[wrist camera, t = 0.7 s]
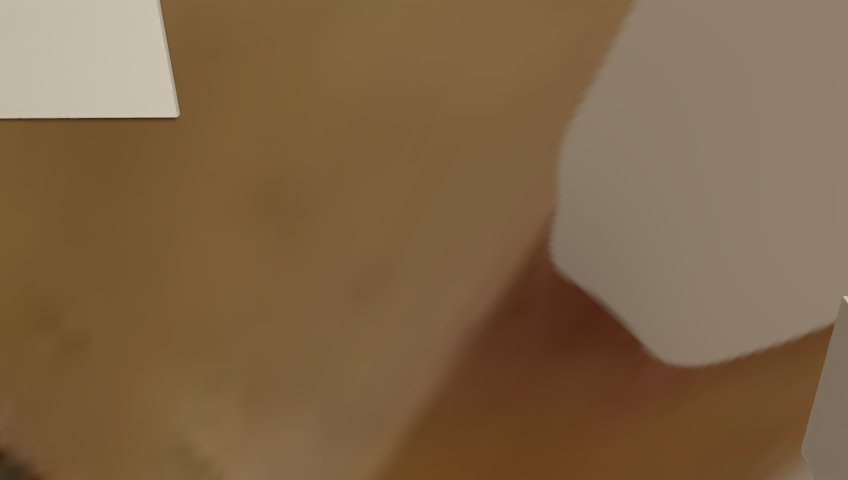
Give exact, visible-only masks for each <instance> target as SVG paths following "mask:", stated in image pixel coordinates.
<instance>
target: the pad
mask: <svg viewBox="0 0 848 480" xmlns="http://www.w3.org/2000/svg"><path fill="white" fill-rule="evenodd" d="M179 115H180V112H179V106H178V100H177V95H176V89H175V84H174V78H173V73H172V67H171V61H170V56H169V50H168V45H167V39H166V33H165V28H164V22H163V17H162V11H161V5H160V0H0V118H133V117H178V116H179Z"/></svg>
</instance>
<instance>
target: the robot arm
mask: <svg viewBox="0 0 848 480" xmlns="http://www.w3.org/2000/svg"><path fill="white" fill-rule="evenodd" d="M801 454H802V456H803V458H804V459H805V461H806V463H807V465H808V467H809V469H810V471H811V473H812V475H813V477H814V479H815V480H848V296H843V297H842V300H841V304H840V308H839V312H838V315H837V319H836V322H835V326H834V330H833V333H832V337H831V341H830V345H829V348H828V352H827V356H826V359H825V363H824V367H823V370H822V374H821V378H820V382H819V385H818V389H817V393H816V396H815V400H814V404H813V407H812V411H811V415H810V419H809V422H808V426H807V430H806V433H805V437H804V441H803V444H802V448H801Z"/></svg>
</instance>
